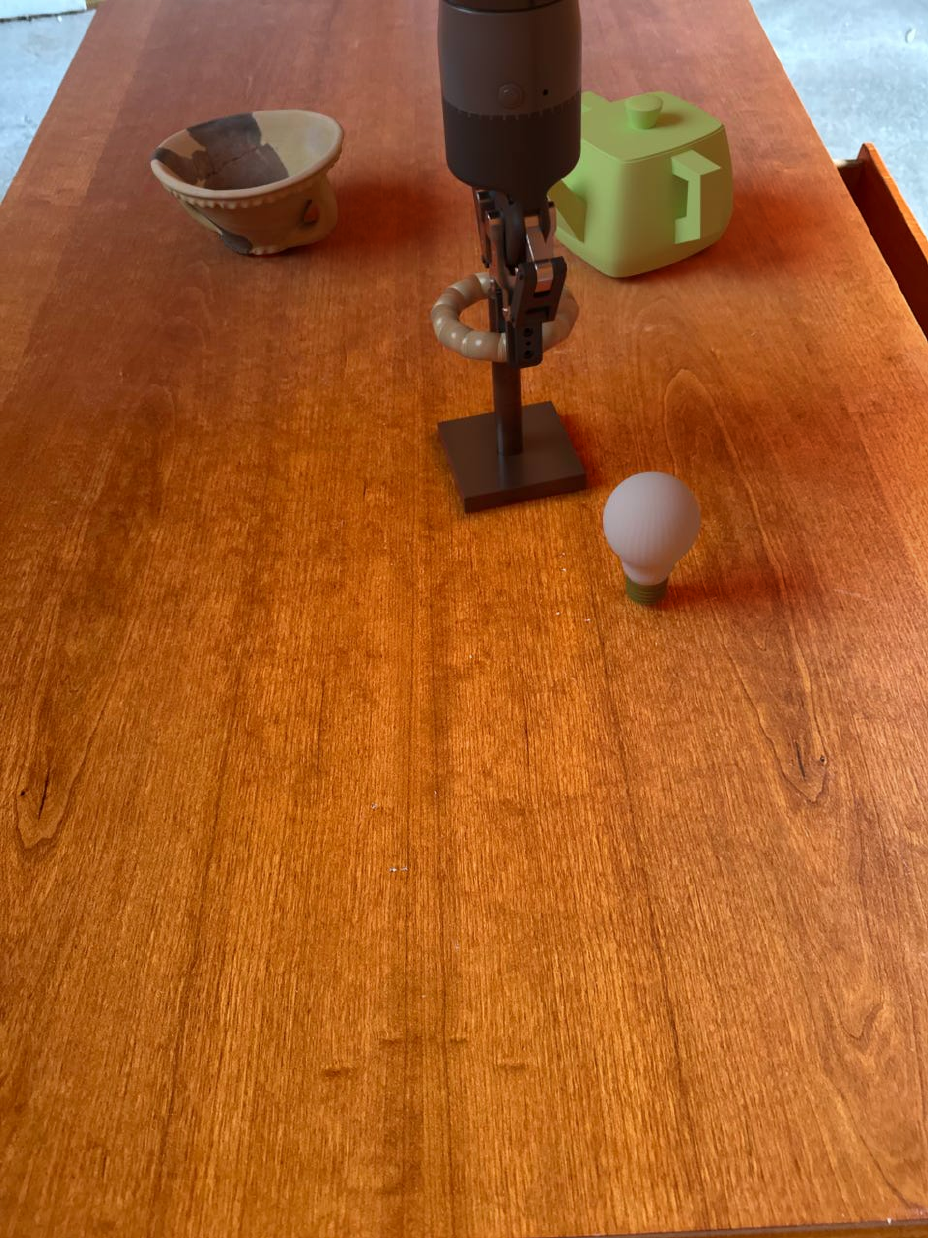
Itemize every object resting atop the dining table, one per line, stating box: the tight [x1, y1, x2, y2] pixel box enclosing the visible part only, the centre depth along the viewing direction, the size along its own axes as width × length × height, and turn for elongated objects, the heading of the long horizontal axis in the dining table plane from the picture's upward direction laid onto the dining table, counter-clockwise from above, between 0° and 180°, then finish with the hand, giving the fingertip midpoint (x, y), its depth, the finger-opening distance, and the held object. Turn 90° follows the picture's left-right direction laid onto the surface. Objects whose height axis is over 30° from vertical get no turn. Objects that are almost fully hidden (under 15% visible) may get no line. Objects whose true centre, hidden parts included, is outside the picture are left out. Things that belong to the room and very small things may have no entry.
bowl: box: [150, 109, 346, 256], centre depth 106 cm, size 18×18×10 cm
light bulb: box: [602, 471, 702, 606], centre depth 71 cm, size 6×6×10 cm
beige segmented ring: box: [429, 270, 580, 362], centre depth 75 cm, size 10×10×2 cm
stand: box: [436, 287, 587, 514], centre depth 80 cm, size 9×9×14 cm
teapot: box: [547, 90, 734, 278], centre depth 99 cm, size 18×20×13 cm
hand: (519, 352), depth 73 cm, fingers closed on beige segmented ring, 2 cm apart
